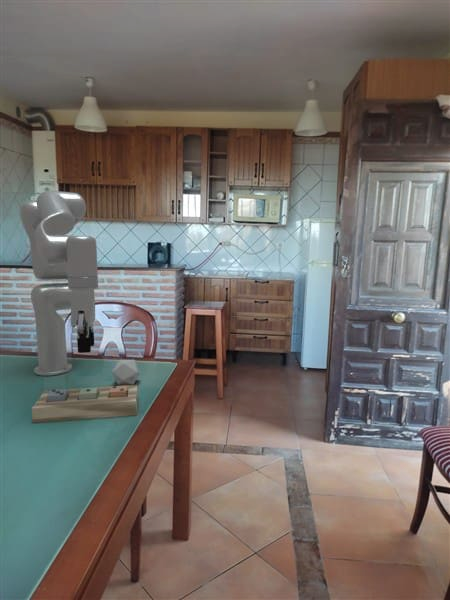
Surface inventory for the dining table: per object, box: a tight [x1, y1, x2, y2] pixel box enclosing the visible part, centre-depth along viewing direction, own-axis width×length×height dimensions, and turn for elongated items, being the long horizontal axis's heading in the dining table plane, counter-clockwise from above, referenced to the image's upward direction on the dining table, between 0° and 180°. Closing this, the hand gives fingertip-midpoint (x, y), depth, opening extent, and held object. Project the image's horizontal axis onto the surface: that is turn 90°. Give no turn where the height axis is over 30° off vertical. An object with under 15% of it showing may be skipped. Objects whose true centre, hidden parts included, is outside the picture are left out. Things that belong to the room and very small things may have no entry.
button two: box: [109, 385, 128, 398], centre depth 107 cm, size 4×4×3 cm
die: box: [111, 359, 141, 386], centre depth 126 cm, size 8×9×10 cm
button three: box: [47, 388, 69, 402], centre depth 104 cm, size 4×4×3 cm
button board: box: [31, 384, 139, 424], centre depth 106 cm, size 12×26×4 cm, turn 101°
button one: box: [79, 386, 98, 400], centre depth 106 cm, size 4×4×3 cm
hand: (86, 348), depth 104 cm, fingers open, 5 cm apart
